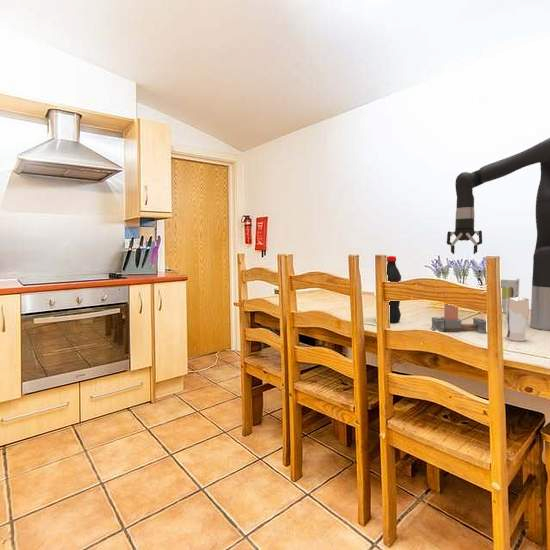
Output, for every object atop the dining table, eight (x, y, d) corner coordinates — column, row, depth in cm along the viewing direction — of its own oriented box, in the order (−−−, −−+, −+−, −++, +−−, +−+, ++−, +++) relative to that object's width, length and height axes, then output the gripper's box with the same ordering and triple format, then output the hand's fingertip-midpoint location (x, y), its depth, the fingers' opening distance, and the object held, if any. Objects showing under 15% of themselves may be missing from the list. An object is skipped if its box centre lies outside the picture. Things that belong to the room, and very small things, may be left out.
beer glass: (504, 340, 130) (506, 299, 128) (504, 335, 136) (506, 296, 134) (527, 342, 126) (529, 300, 125) (527, 338, 132) (529, 297, 130)
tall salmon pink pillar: (456, 324, 148) (457, 283, 146) (461, 328, 141) (462, 285, 140) (440, 324, 149) (441, 283, 147) (445, 328, 143) (446, 285, 141)
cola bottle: (377, 321, 164) (377, 256, 161) (387, 318, 169) (388, 255, 166) (394, 324, 157) (394, 256, 154) (404, 321, 163) (405, 255, 160)
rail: (480, 328, 146) (481, 316, 146) (487, 333, 140) (488, 320, 139) (431, 327, 150) (431, 315, 149) (436, 332, 143) (436, 319, 143)
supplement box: (492, 312, 179) (493, 278, 178) (496, 309, 186) (497, 277, 184) (515, 314, 173) (516, 279, 171) (518, 311, 179) (519, 278, 178)
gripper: (446, 218, 161) (445, 254, 163) (483, 216, 154) (481, 254, 156) (448, 219, 168) (447, 253, 169) (483, 217, 161) (481, 253, 162)
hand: (463, 253), depth 162 cm, fingers open, 8 cm apart
